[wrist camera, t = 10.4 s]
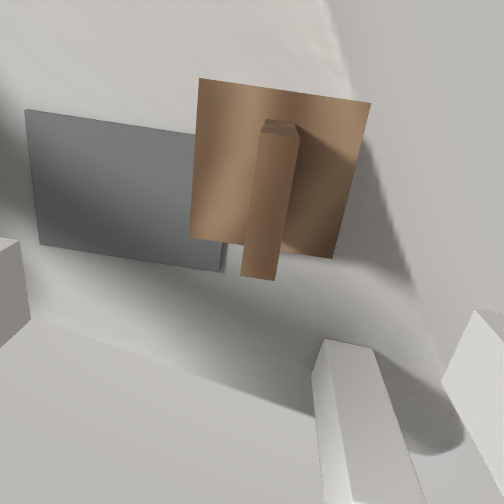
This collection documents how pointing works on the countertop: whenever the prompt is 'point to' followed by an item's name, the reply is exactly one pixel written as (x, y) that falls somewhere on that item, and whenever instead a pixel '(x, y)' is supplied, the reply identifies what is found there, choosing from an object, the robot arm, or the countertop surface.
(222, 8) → the countertop surface
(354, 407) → the milk
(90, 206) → the mat
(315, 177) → the board
